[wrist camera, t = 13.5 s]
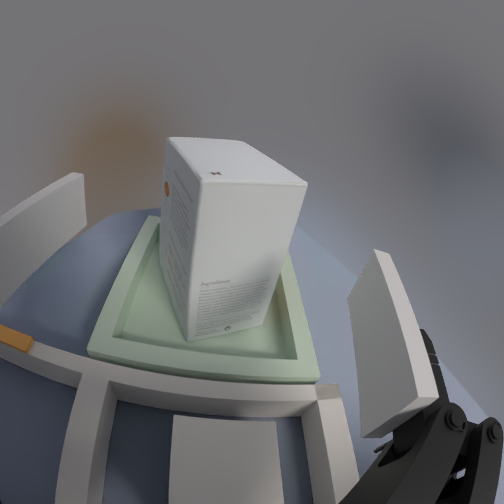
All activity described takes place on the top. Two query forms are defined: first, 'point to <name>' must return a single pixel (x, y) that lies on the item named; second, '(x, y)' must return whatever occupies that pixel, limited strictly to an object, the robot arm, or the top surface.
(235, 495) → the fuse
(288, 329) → the tray
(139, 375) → the beige divided frame
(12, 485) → the top surface
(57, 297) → the top surface
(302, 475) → the top surface
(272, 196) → the small box
